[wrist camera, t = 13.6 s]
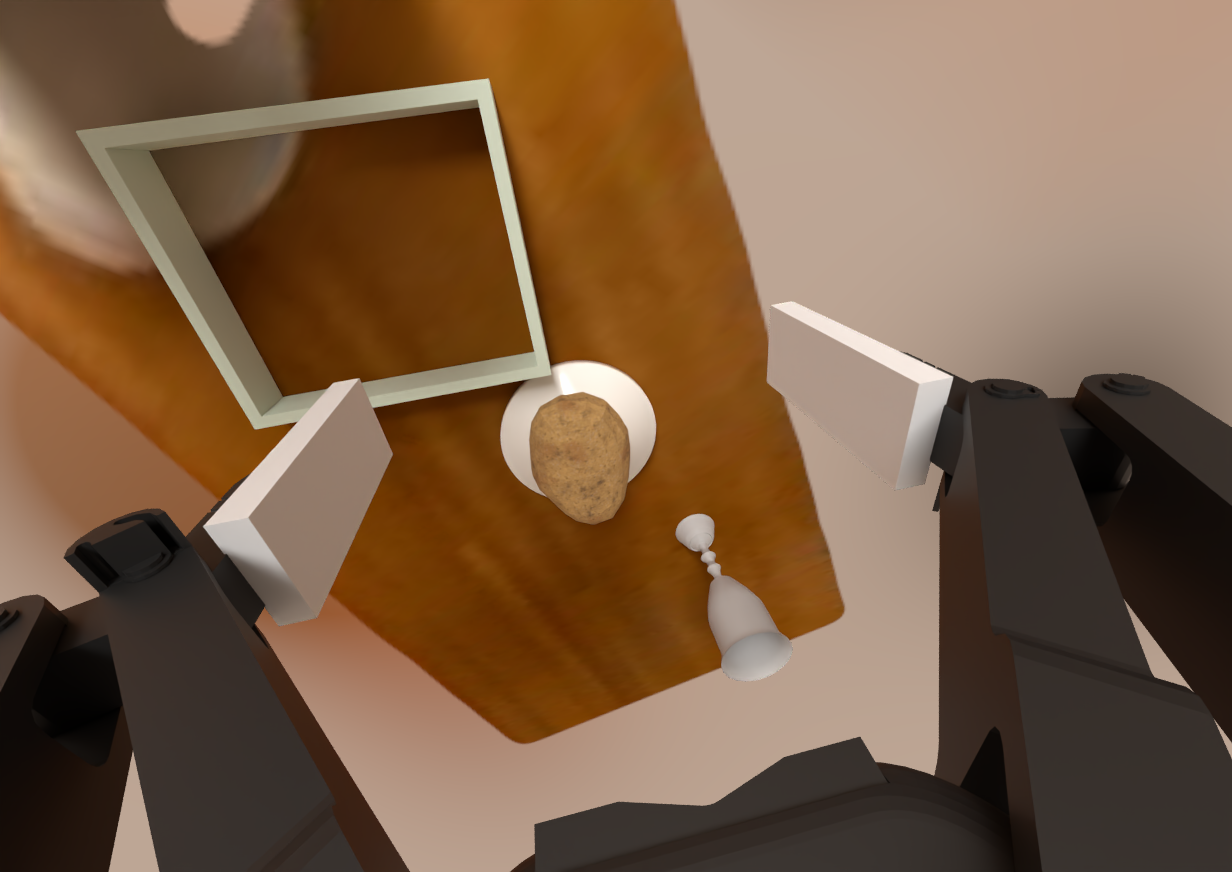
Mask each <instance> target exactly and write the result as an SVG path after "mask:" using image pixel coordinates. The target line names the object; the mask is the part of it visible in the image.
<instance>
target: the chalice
mask: <svg viewBox="0 0 1232 872" xmlns="http://www.w3.org/2000/svg"><path fill="white" fill-rule="evenodd" d="M676 537H677V539H678V540H679V541H680V542H681V543H683V544H684V545H685V546H687V547H688V548H689V549H690V550H693V551H702V557H701V560H702V561H703V562H705V563H707V564H708V569H707V571H708V573H710V574H712V576H713V577H714V580H713V581H712V582H711V584H710V590H709V599H708V622H709V625H710V627H711V630H712V632H713V635H714V637H715V639H716V642H717V644H718V647H719V649H720V651H721V654H722V662H721V667H722V670H723V672H724V673H725V674H726V675H727V676H728V677H729V678H732V679H734V680H737V681H754V680H759V679H762V678H765V677H768V676H770V675H771V674H773V673H775V672H777V671H778V670H780V669H781V668H782V667H783V666H784V665H785V664H786V663H787V662H788V660H789V659H790V657H791V654H792V650H793V649H792V644H791V642H790V640H789V639H788V638H787V637H786V636H784V635H783V634H781V633H780V632H779V631H778V629H777V627H776V625H775V624H774V622H773V620H772V618H771V617H770V615H769V613H768V611H767V609H766V608H765V606H764V604H763V603H762V601H761V600H760V599H759V598H758V597H757V596H756V595H755V594H753V593H752V592H751V591H750V590H749V589H748V588H746V587H745V586H743V585H742V584H740V583H739V582H737V581H736V580H734V579H733V578H731V577H729V576H722V575H721V572H720V569H721V566H720V565H719V564H717V563H716V562H715V560H714V559H715V557H716V555H715V553H714V552H711V551H710V550H709V549H708V547H709V546H710V545H711V544H712V542H713V540H714V521H713V520H712V519H711V517H709V516H707V515H704V514H694V515H691V516H688V517H687V518H685V519H683V520H682V521H681V522H680V523H679V525H678V527H677V529H676Z"/></svg>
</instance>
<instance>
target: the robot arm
mask: <svg viewBox="0 0 1232 872" xmlns="http://www.w3.org/2000/svg"><path fill="white" fill-rule="evenodd" d="M767 382H768V383H769V384H770V385H771V386H772V387H773V388H775V389H776V390H777V391H778V392H779V393H780V394H782V395H783V396H784V397H785V398H786V399H788V400H789V401H790V402H791V403H792V404H793V405H795V406H796V407H797V408H798V409H799V410H801V411H802V412H803V413H804V414H805V415H806V416H808V417H809V418H810V419H811V420H812V421H814V422H815V423H816V424H817V425H818V426H819V427H821V428H822V429H823V430H824V431H825V432H826V433H828V434H829V435H830V436H831V437H832V438H833V439H835V440H836V441H837V442H838V443H839V444H841V445H842V446H843V447H844V448H845V449H846V450H848V451H849V452H850V453H851V454H852V455H854V456H855V457H856V458H857V459H858V460H859V461H861V462H862V463H863V464H864V465H865V466H866V467H868V468H869V469H870V470H871V471H872V472H874V473H875V474H876V475H877V476H878V477H879V478H881V479H882V480H883V481H884V482H885V483H886V484H888V485H889V486H890V487H891V488H893V489H894V490H900V489H904V488H909V487H913V486H918V485H922V484H925V481H926V477H927V474H928V470H929V466H930V463H931V462H932V463H934V464H935V465H937V466H938V467H940V468H941V469H942V470H944V472H943V476H942V479H941V483H940V486H939V489H938V493H937V496H936V500H935V503H934V507H933V511H937V512H938V511H939V509H940V568H939V569H940V570H939V572H940V573H939V574H940V575H939V577H940V579H939V581H940V582H939V585H940V586H939V590H940V591H939V594H940V595H939V596H940V597H939V750H938V759H937V765H936V770H935V775H934V776H933V775H931V774H928V773H925V772H922V771H918V770H915V769H912V768H908V767H905V766H898V765H893V764H888V763H881V762H875V761H874V759H873V758H872V756H871V754H870V752H869V751H868V749H867V747H866V746H865V744H864V742H863V741H862V739H861V737H857V738H853V739H850V740H846V741H842V742H839V743H835V744H831V745H828V746H824V747H820V748H817V749H813V750H809V751H805V752H801V753H798V754H794V755H790V756H787V757H784V758H782V759H781V760H779V761H778V762H776V763H775V764H774V765H772V766H770V767H769V768H767V769H766V770H764V771H763V772H761V773H760V774H758V775H757V776H755V777H754V778H752V779H751V780H749V781H748V782H746V783H745V784H743V785H742V786H740V787H739V788H737V789H736V790H734V791H733V792H732V793H730V794H728V795H727V796H725V797H724V798H722V799H721V800H719V801H718V802H716V803H714V804H711V805H707V806H694V805H673V804H652V803H630V802H616V803H612V804H609V805H605V806H601V807H597V808H594V809H590V810H586V811H583V812H579V813H575V814H571V815H568V816H564V817H560V818H557V819H553V820H549V821H545V822H542V823H538V824H535V854H534V855H532V856H531V857H529V858H527V859H526V860H524V861H523V862H521V863H520V864H519V865H518V866H517V867H515V868H514V869H513V870H512V871H511V872H1232V759H1231V756H1230V754H1229V752H1228V750H1227V748H1226V745H1225V743H1224V741H1223V739H1222V736H1221V734H1220V732H1219V730H1218V727H1217V725H1216V723H1215V721H1216V722H1217V723H1218V725H1219V726H1220V727H1221V729H1222V730H1223V731H1224V733H1225V734H1226V735H1227V737H1228V738H1229V739H1230V741H1231V742H1232V427H1230V426H1229V425H1227V424H1225V423H1224V422H1222V421H1221V420H1219V419H1218V418H1216V417H1215V416H1213V415H1211V414H1210V413H1208V412H1206V411H1205V410H1204V409H1202V408H1201V407H1199V406H1197V405H1196V404H1194V403H1192V402H1191V401H1190V400H1188V399H1186V398H1185V397H1183V396H1182V395H1180V394H1178V393H1177V392H1175V391H1174V390H1172V389H1171V388H1169V387H1167V386H1165V385H1163V384H1160V383H1158V382H1155V381H1152V380H1148V379H1145V377H1142V376H1138V375H1131V374H1124V373H1119V374H1097V375H1091V376H1088V377H1085V378H1084V379H1083V381H1082V382H1081V385H1080V387H1079V389H1078V392H1077V394H1076V396H1075V397H1074V398H1048V397H1047V395H1046V394H1045V393H1044V392H1043V391H1042V390H1041V389H1039V388H1037V387H1035V386H1032V385H1029V384H1026V383H1023V382H1019V381H1014V380H1009V379H984V380H977V381H975V382H973V383H971V382H968V381H966V380H964V379H962V378H960V377H958V376H955V375H953V374H951V373H949V372H947V371H945V370H943V369H940V368H935V366H934V365H932V364H930V363H927V362H923V361H922V360H921V359H919V358H917V357H915V356H912V355H910V354H908V353H905V352H900V351H897V350H895V349H893V348H891V347H889V346H886V345H884V344H882V343H880V342H878V341H875V340H874V339H872V338H870V337H867V336H865V335H863V334H861V333H859V332H857V331H855V330H852V329H850V328H848V327H846V326H844V325H842V324H840V323H838V322H835V321H833V320H831V319H829V318H827V317H825V316H823V315H821V314H818V313H816V312H814V311H812V310H810V309H808V308H806V307H804V306H801V305H799V304H797V303H795V302H793V301H792V302H786V303H781V304H775V305H771V306H770V326H769V348H768V369H767ZM392 455H393V453H392V451H391V449H390V446H389V444H388V442H387V440H386V437H385V435H384V433H383V431H382V428H381V426H380V424H379V421H378V419H377V417H376V415H375V412H374V410H373V408H372V406H371V403H370V401H369V399H368V397H367V394H366V392H365V390H364V387H363V385H362V383H361V381H360V378H358V379H352V380H347V381H341V382H335V383H333V384H332V385H331V386H330V387H329V388H328V389H327V390H326V392H325V393H324V394H323V395H322V396H321V397H320V398H319V399H318V400H317V401H316V403H315V404H314V405H313V406H312V407H311V408H310V409H309V410H308V411H307V412H306V414H305V415H304V416H303V417H302V418H301V419H300V420H299V421H298V422H297V423H296V425H295V426H294V427H293V428H292V429H291V430H290V431H289V432H288V433H287V435H286V436H285V437H284V438H283V439H282V440H281V441H280V442H279V443H278V444H277V446H276V447H275V448H274V449H273V450H272V451H271V452H270V453H269V454H268V455H267V457H266V458H265V459H264V460H263V461H262V462H261V463H260V464H259V465H258V466H257V468H256V469H255V470H254V471H253V472H252V473H250V474H249V475H247V476H246V477H244V478H243V479H241V480H240V481H239V482H237V483H236V484H234V485H233V486H232V487H231V489H230V490H229V491H228V492H227V493H226V494H225V495H224V496H223V497H222V498H221V499H222V501H218V503H217V504H216V505H215V506H214V507H213V508H212V509H211V512H210V513H207V515H205V517H204V518H203V519H202V520H201V521H200V522H199V523H198V524H197V525H196V526H195V527H194V528H193V530H192V531H191V532H190V533H189V534H188V535H187V536H186V537H185V536H184V535H183V533H182V532H181V531H180V530H179V529H178V527H177V526H176V525H175V523H173V521H172V520H171V519H170V517H169V516H168V515H167V514H166V512H164V511H163V510H161V509H145V510H141V511H137V512H133V513H129V514H127V515H124V516H122V517H119V518H116V519H114V520H111V521H109V522H107V523H105V524H103V525H101V526H99V527H97V528H95V529H93V530H92V531H90V532H89V533H87V534H86V535H84V536H83V537H81V538H80V539H78V540H77V541H76V542H75V543H74V544H73V545H72V546H71V547H70V548H68V549H67V551H66V553H65V556H64V559H65V560H66V561H67V562H68V563H69V564H70V565H71V566H72V567H73V568H74V569H76V571H77V572H78V573H79V574H80V575H81V576H83V577H84V578H85V579H86V580H87V581H88V582H89V583H90V584H91V585H92V586H93V587H94V588H95V589H96V590H97V591H98V592H99V595H100V596H99V597H97V598H94V599H91V600H89V601H86V602H83V603H81V604H78V605H75V606H73V607H70V608H67V609H65V610H62V611H59V610H58V609H57V608H56V607H55V606H53V605H52V604H51V603H50V602H49V601H48V600H47V599H45V597H42V596H40V595H30V596H22V597H19V598H17V599H13V600H10V601H7V602H4V603H2V604H0V872H108V871H109V867H110V861H111V856H112V852H113V847H114V842H115V837H116V832H117V827H118V821H119V817H120V812H121V807H122V802H123V797H124V792H125V786H126V782H127V776H128V772H129V767H130V761H131V757H132V752H134V757H135V761H136V766H137V771H138V775H139V780H140V784H141V789H142V794H143V798H144V803H145V807H146V812H147V817H148V821H149V826H150V830H151V835H152V839H153V844H154V849H155V854H156V858H157V862H158V867H159V871H160V872H410V871H409V869H408V868H407V866H406V865H405V863H404V861H403V860H402V858H401V857H400V855H399V853H398V852H397V850H396V849H395V847H394V845H393V844H392V842H391V840H390V839H389V837H388V835H387V834H386V832H385V831H384V829H383V827H382V826H381V824H380V823H379V821H378V819H377V818H376V816H375V815H374V813H373V811H372V810H371V808H370V807H369V805H368V803H367V802H366V800H365V798H364V797H363V795H362V793H361V792H360V790H359V789H358V787H357V785H356V784H355V782H354V781H353V779H352V777H351V776H350V774H349V772H348V771H347V769H346V767H345V766H344V764H343V763H342V761H341V760H340V758H339V756H338V755H337V753H336V751H335V750H334V749H333V747H332V745H331V743H330V742H329V740H328V739H327V737H326V735H325V734H324V732H323V730H322V729H321V727H320V725H319V724H318V722H317V721H316V719H315V717H314V716H313V714H312V712H311V711H310V709H309V708H308V706H307V704H306V703H305V701H304V699H303V698H302V696H301V695H300V693H299V691H298V690H297V688H296V687H295V685H294V683H293V682H292V680H291V678H290V677H289V675H288V674H287V672H286V671H285V669H284V667H283V666H282V664H281V662H280V661H279V659H278V658H277V656H276V654H275V653H274V651H273V649H272V648H271V646H270V644H269V643H268V641H267V640H266V638H265V636H264V635H263V633H262V632H261V631H260V630H259V628H258V627H257V626H256V625H255V622H256V621H257V619H258V617H259V615H260V614H261V612H262V610H263V609H264V607H265V609H266V610H267V611H268V612H269V614H270V615H271V616H272V618H273V619H274V620H275V622H276V623H277V624H278V626H282V625H287V624H292V623H296V622H301V621H306V620H309V619H315V618H317V617H318V615H319V613H320V610H321V608H322V606H323V604H324V602H325V600H326V597H327V595H328V593H329V591H330V589H331V587H332V585H333V582H334V580H335V578H336V576H337V574H338V572H339V569H340V567H341V565H342V563H343V561H344V559H345V557H346V554H347V552H348V550H349V548H350V546H351V544H352V541H353V539H354V537H355V535H356V533H357V531H358V528H359V526H360V524H361V522H362V520H363V518H364V515H365V513H366V511H367V509H368V507H369V505H370V503H371V500H372V498H373V496H374V494H375V492H376V490H377V487H378V485H379V483H380V481H381V479H382V477H383V474H384V472H385V470H386V468H387V466H388V464H389V461H390V459H391V457H392ZM1129 479H1130V480H1129ZM1128 481H1129V482H1128ZM1123 598H1124V599H1123ZM1124 600H1125V601H1126V602H1127V604H1128V605H1129V606H1130V608H1131V609H1132V610H1133V612H1134V613H1135V614H1136V616H1137V617H1138V618H1139V620H1140V621H1141V622H1142V624H1143V625H1144V626H1145V628H1146V629H1147V630H1148V632H1149V633H1150V634H1151V636H1152V637H1153V638H1154V640H1155V641H1156V642H1157V644H1158V645H1159V646H1160V648H1161V649H1162V650H1163V652H1164V653H1165V654H1166V656H1167V657H1168V658H1169V660H1170V661H1171V662H1172V664H1173V665H1174V666H1175V667H1176V669H1177V670H1178V671H1179V673H1180V674H1181V676H1182V677H1183V678H1184V680H1185V681H1186V682H1187V684H1188V685H1189V686H1190V688H1191V689H1192V690H1193V692H1192V691H1191V690H1190V689H1188V688H1187V687H1185V686H1182V685H1178V684H1175V683H1171V682H1168V681H1165V680H1161V679H1158V678H1155V677H1154V676H1153V674H1152V672H1151V670H1150V668H1149V665H1148V663H1147V660H1146V657H1145V654H1144V652H1143V649H1142V647H1141V644H1140V641H1139V639H1138V636H1137V633H1136V631H1135V628H1134V625H1133V623H1132V620H1131V617H1130V615H1129V612H1128V609H1127V607H1126V604H1125V602H1124ZM1213 718H1214V719H1213ZM1214 720H1215V721H1214Z"/></svg>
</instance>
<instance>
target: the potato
mask: <svg viewBox="0 0 1232 872" xmlns="http://www.w3.org/2000/svg"><path fill="white" fill-rule="evenodd" d="M529 445H530V459H531V470H532V475H533V478H534V480H535V482H536V484H537V486H538V488H539V490H540V491H542V492H543V493H544V494H545V495H546V496H547V497H548V498H549V499H550V500H551V501H552V502H553V503H554V504H555V505H556V506H557V507H558V508H560V509H561V510H562V511H563V512H564V513H565V514H566V515H568V516H570V517H571V518H573V519H574V520H576V521H579V522H583V523H588V524H592V525H594V524H597V523H600V522H603V521H606V520H609V519H611V518H613V516H614V515H615V513H616V512H617V510H618V509H619V507H620V506H621V504H622V502H623V501H624V498H625V493H626V488H627V483H628V478H629V467H630V442H629V434H628V429H627V427H626V425H625V424H624V422H623V420H622V419H621V417H620V415H619V414H618V413H617V412H616V411H615V410H614V409H613V408H612V407H611V406H610V405H609V404H608V402H607V401H605V400H604V399H602V398H599V397H596V396H593V395H591V394H588V393H585V392H579V393H573V394H567V395H560V396H558V397H556V398H554V399H552V400H551V401H549V402H547V403H545V404H543V405H542V406H540V408H539V409H538V411H537V413H536V415H535V417H534V418H533V420H532V422H531V428H530V436H529Z"/></svg>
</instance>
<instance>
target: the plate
mask: <svg viewBox="0 0 1232 872" xmlns="http://www.w3.org/2000/svg"><path fill="white" fill-rule="evenodd" d="M550 369H551V375H548V376H543V377H537V378H532V379H527V380H526V381H524V382H523V383H522V384H521V385H520V386H519V387H518V389H517V390H516V391H515V392H514V394H513V395H512V397H511V398H510V400H509V402H508V403H507V406H506V408H505V411H504V414H503V418H502V424H501V435H500V437H501V447H502V452H503V455H504V458H505V460H506V463H507V464H508V466H509V468H510V470H511V471H512V472H513V474H514V475H515V476H516V477H517V478H518V479H519V480H520V481H521V482H522V483H523V484H524V485H526V486H527V487H528V488H530V489H531V490H533V491H535V492H537V493H539V494H541V495H544V496H546V495H545V494H544V493H543V492H542V491H540V490H539V488H538V486H537V484H536V482H535V480H534V478H533V475H532V470H531V459H530V445H529V436H530V428H531V422H532V420H533V418H534V417H535V415H536V413H537V411H538V409H539V408H540V406H542V405H543V404H545V403H547V402H549V401H551V400H552V399H554V398H556V397H558V396H560V395H567V394H573V393H579V392H585V393H588V394H591V395H593V396H596V397H599V398H602V399H604V400H605V401H607V402H608V404H609V405H610V406H611V407H612V408H613V409H614V410H615V411H616V412H617V413H618V414H619V415H620V417H621V419H622V420H623V422H624V424H625V425H626V427H627V429H628V434H629V442H630V467H629V478H628V482H629V481H631V480H632V479H633V478H634V477H635V476H636V475H637V474H638V473H639V472H640V470H641V469H642V468H643V467H644V465H645V464H646V462H647V460H648V458H649V457H650V454H651V452H652V449H653V446H654V442H655V436H656V421H655V415H654V412H653V409H652V406H651V404H650V402H649V400H648V398H647V396H646V394H645V393H644V391H643V390H642V389H641V387H640V386H639V385H638V384H637V383H636V382H635V381H634V380H633V379H632V378H631V377H630V376H629V375H627V374H626V373H624V372H623V371H621V370H619V369H618V368H615V367H613V366H610V365H608V364H604V363H601V362H596V361H589V360H574V361H566V362H562V363H557V364H554V365H551V366H550ZM546 497H547V496H546Z"/></svg>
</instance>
